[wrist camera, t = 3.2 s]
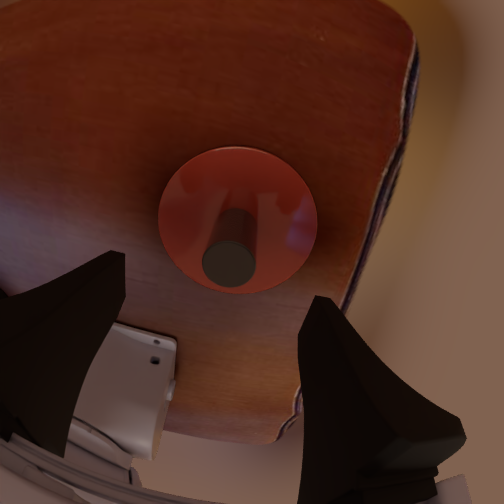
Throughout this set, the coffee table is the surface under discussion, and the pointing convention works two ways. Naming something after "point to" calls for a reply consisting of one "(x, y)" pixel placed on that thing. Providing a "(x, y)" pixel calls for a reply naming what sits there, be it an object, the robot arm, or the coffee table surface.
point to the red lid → (237, 219)
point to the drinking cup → (2, 295)
